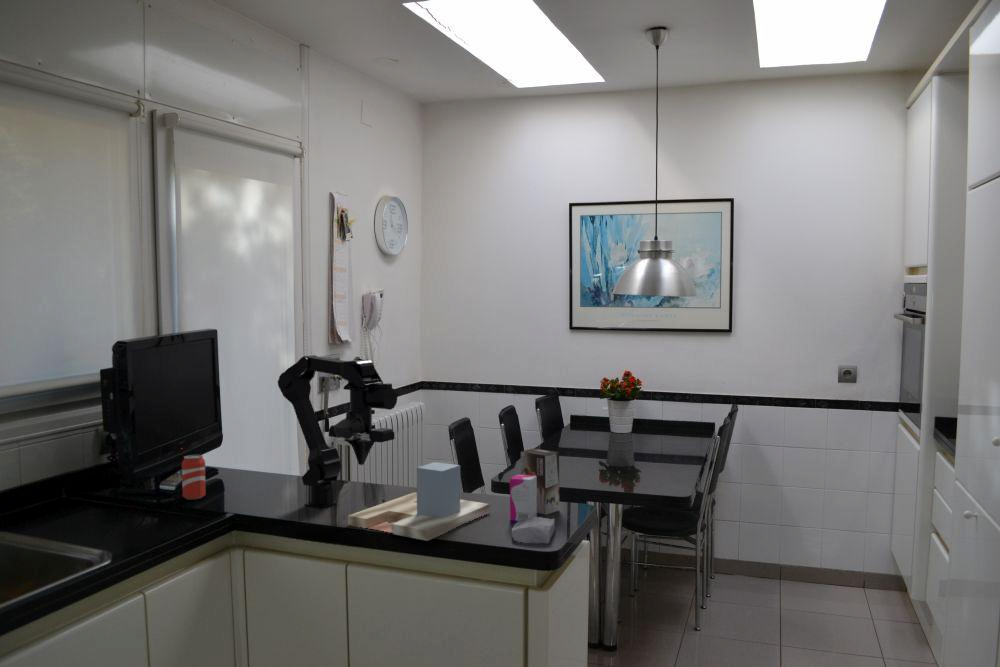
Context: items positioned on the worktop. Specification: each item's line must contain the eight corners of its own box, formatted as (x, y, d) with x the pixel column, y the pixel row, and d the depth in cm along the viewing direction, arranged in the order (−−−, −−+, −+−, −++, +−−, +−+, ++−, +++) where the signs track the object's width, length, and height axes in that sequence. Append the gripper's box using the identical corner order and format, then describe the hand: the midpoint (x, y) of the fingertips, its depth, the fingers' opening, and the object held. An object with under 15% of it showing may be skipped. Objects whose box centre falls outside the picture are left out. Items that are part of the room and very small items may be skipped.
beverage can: (197, 493, 236) (196, 453, 235) (210, 497, 232) (209, 456, 231) (178, 498, 231) (177, 457, 230) (191, 501, 227) (190, 459, 226)
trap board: (348, 525, 204) (348, 515, 204) (415, 500, 228) (415, 492, 227) (427, 540, 191) (427, 530, 191) (489, 513, 215) (489, 504, 215)
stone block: (511, 550, 190) (552, 544, 188) (507, 530, 190) (548, 524, 188) (519, 537, 201) (558, 531, 200) (515, 518, 202) (554, 512, 200)
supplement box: (537, 518, 210) (537, 475, 209) (530, 524, 204) (530, 480, 204) (516, 516, 212) (516, 473, 211) (509, 522, 206) (509, 478, 206)
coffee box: (560, 510, 217) (560, 452, 216) (545, 515, 213) (545, 455, 212) (534, 504, 224) (534, 447, 223) (519, 509, 219) (519, 451, 218)
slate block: (416, 514, 205) (416, 467, 204) (435, 506, 212) (435, 462, 211) (442, 518, 201) (442, 471, 200) (460, 511, 208) (460, 465, 207)
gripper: (313, 408, 212) (314, 466, 213) (367, 413, 203) (368, 474, 203) (342, 403, 222) (343, 459, 222) (395, 408, 212) (396, 466, 213)
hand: (361, 464), depth 215 cm, fingers closed
